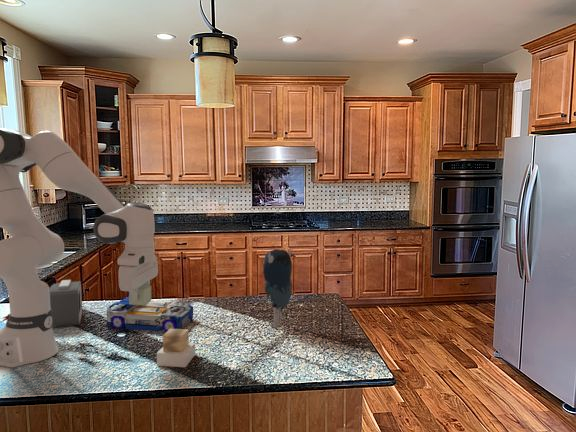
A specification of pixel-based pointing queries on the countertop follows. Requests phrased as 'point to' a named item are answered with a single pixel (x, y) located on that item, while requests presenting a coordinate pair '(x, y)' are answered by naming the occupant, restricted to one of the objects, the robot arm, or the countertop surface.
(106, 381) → the countertop surface
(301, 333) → the countertop surface
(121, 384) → the countertop surface
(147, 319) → the toy car
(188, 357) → the pedestal
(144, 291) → the green cube
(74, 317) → the grey box with button
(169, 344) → the oak block
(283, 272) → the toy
